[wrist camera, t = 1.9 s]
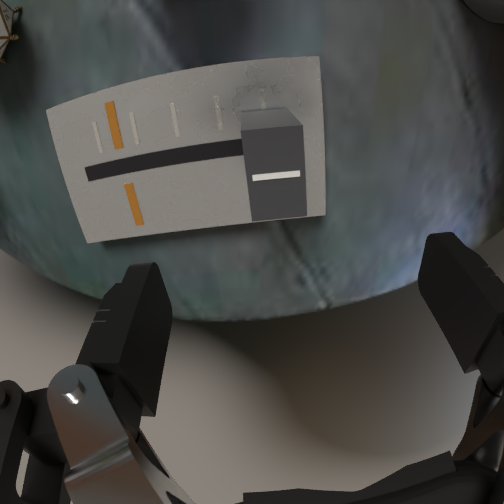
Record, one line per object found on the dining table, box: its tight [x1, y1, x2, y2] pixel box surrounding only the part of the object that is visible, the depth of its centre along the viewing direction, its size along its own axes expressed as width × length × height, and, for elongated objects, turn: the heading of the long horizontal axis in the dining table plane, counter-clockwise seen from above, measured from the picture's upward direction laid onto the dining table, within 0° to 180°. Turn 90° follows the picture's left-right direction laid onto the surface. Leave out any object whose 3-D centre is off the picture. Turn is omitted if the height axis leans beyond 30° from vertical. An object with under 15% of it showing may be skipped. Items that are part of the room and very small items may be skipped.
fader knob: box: [241, 108, 307, 222], centre depth 18 cm, size 3×5×6 cm, turn 6°
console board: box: [46, 56, 326, 243], centre depth 22 cm, size 20×12×2 cm, turn 96°
